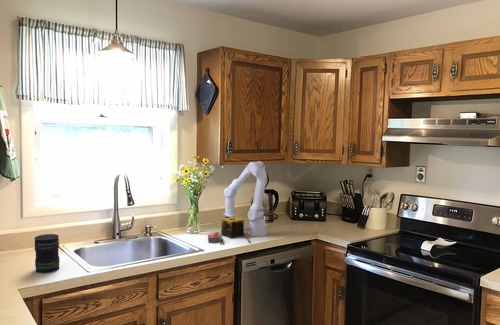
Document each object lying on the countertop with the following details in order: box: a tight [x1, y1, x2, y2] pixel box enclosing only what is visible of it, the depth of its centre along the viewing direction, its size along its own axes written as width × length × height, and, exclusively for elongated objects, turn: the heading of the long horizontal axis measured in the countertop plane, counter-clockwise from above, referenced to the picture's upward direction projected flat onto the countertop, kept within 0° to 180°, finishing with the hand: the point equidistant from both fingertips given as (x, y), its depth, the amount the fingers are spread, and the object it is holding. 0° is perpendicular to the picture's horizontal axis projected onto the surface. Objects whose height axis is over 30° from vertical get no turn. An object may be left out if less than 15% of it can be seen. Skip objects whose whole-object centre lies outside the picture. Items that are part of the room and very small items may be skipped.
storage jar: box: [34, 233, 60, 274], centre depth 186 cm, size 10×10×15 cm
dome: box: [210, 231, 218, 237], centre depth 236 cm, size 4×4×5 cm
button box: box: [207, 234, 222, 244], centre depth 236 cm, size 7×7×3 cm
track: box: [215, 232, 252, 246], centre depth 243 cm, size 17×25×1 cm
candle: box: [220, 216, 245, 239], centre depth 248 cm, size 10×10×10 cm
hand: (229, 228), depth 261 cm, fingers closed
